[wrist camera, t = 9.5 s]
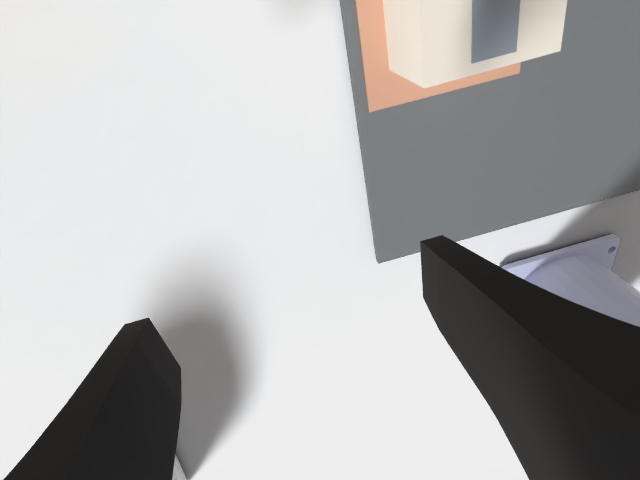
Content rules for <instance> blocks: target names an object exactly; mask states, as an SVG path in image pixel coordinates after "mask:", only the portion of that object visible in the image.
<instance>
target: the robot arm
mask: <svg viewBox="0 0 640 480" xmlns="http://www.w3.org/2000/svg"><path fill="white" fill-rule="evenodd" d="M619 244H620V237H619V236H617V235H615V234H610V235H607V236H603V237H600V238H596V239H593V240H589V241H586V242H582V243H579V244H575V245H572V246H568V247H565V248H561V249H558V250H555V251H551V252H548V253H544V254H541V255H537V256H534V257H530V258H527V259H523V260H520V261H516V262H513V263H509V264H506V265H504V266H502V267H499V266H497V265H495V264H493V263H492V262H490V261H488V260H486V259H484V258H483V257H481V256H479V255H477V254H475V253H474V252H472V251H470V250H468V249H467V248H465V247H463V246H461V245H459V244H458V243H456V242H454V241H452V240H451V239H449V238H447V237H445V236H443V235H440V236H437V237H433V238H430V239H426V240H423V241H420V247H421V265H422V283H423V298H424V300H425V302H426V304H427V306H428V308H429V310H430V312H431V315H432V317H433V318H434V320H435V322H436V324H437V326H438V328H439V330H440V332H441V333H442V335H443V336H444V338H445V339H446V341H447V342H448V344H449V346H450V347H451V349H452V350H453V352H454V353H455V355H456V356H457V358H458V359H459V361H460V362H461V364H462V365H463V367H464V368H465V370H466V371H467V373H468V374H469V376H470V377H471V379H472V380H473V382H474V383H475V385H476V386H477V388H478V389H479V391H480V392H481V394H482V395H483V397H484V398H485V400H486V401H487V403H488V404H489V406H490V408H491V409H492V411H493V413H494V414H495V416H496V418H497V419H498V421H499V423H500V425H501V427H502V429H503V431H504V432H505V434H506V436H507V438H508V440H509V442H510V444H511V445H512V447H513V449H514V451H515V453H516V455H517V457H518V459H519V461H520V462H521V464H522V466H523V468H524V470H525V472H526V474H527V476H528V478H529V480H640V292H639V291H638V290H637V289H635V288H634V287H633V286H631V285H630V284H629V283H627V282H626V281H624V280H623V279H622V278H620V277H619V276H618V275H616V274H615V273H614V272H612V271H611V270H612V267H613V264H614V260H615V257H616V254H617V251H618V247H619ZM180 412H181V367H180V366H179V364H178V363H177V361H176V360H175V358H174V356H173V355H172V353H171V352H170V350H169V349H168V347H167V345H166V344H165V342H164V341H163V339H162V338H161V336H160V335H159V333H158V331H157V330H156V328H155V327H154V325H153V324H152V322H151V320H150V319H149V318H146V319H142V320H139V321H135V322H132V323H128V324H125V325H124V326H123V327H122V329H121V330H120V331H119V332H118V334H117V335H116V336H115V338H114V339H113V341H112V342H111V343H110V345H109V346H108V347H107V349H106V350H105V352H104V353H103V354H102V356H101V357H100V358H99V360H98V361H97V363H96V364H95V365H94V367H93V368H92V370H91V371H90V372H89V374H88V375H87V376H86V378H85V379H84V380H83V382H82V383H81V384H80V386H79V387H78V389H77V390H76V391H75V393H74V394H73V395H72V397H71V398H70V399H69V401H68V402H67V403H66V405H65V406H64V407H63V408H62V410H61V411H60V412H59V413H58V415H57V416H56V417H55V418H54V420H53V421H52V422H51V423H50V425H49V426H48V427H47V429H46V430H45V431H44V432H43V434H42V435H41V436H40V437H39V439H38V440H37V441H36V442H35V444H34V445H33V446H32V447H31V449H30V450H29V451H28V452H27V453H26V454H25V456H24V457H23V458H22V459H21V460H20V462H19V463H18V464H17V465H16V466H15V467H14V468H13V470H12V471H11V472H10V473H9V474H8V475H7V476H6V477H5V479H4V480H172V477H173V469H174V461H175V453H176V445H177V438H178V429H179V421H180Z"/></svg>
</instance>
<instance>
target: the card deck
mask: <svg viewBox="0 0 640 480" xmlns="http://www.w3.org/2000/svg"><path fill="white" fill-rule="evenodd" d="M566 7H567V0H383V10H384V20H385V31H386V41H387V51H388V61H389V70H390V71H392V72H394V73H396V74H398V75H400V76H402V77H404V78H405V79H407V80H409V81H411V82H413V83H415V84H417V85H418V86H420V87H422V88H428V87H431V86H435V85H439V84H442V83H446V82H450V81H453V80H457V79H461V78H464V77H468V76H472V75H475V74H479V73H482V72H486V71H490V70H493V69H497V68H501V67H504V66H508V65H512V64H515V63H519V62H523V61H526V60H530V59H534V58H537V57H541V56H544V55H548V54H552V53H555V52H559V51H561V43H562V36H563V29H564V21H565V14H566Z"/></svg>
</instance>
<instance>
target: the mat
mask: <svg viewBox="0 0 640 480" xmlns="http://www.w3.org/2000/svg"><path fill="white" fill-rule="evenodd" d="M340 6H341V13H342V20H343V27H344V35H345V42H346V49H347V56H348V63H349V70H350V77H351V84H352V91H353V98H354V105H355V112H356V120H357V127H358V134H359V141H360V148H361V155H362V162H363V169H364V176H365V183H366V190H367V197H368V205H369V212H370V219H371V226H372V233H373V240H374V247H375V254H376V260H377V262H378V264H379V263H382V262H386V261H389V260H393V259H396V258H400V257H404V256H407V255H411V254H414V253H418V252H421V247H420V241H423V240H426V239H430V238H433V237H437V236H440V235H443V236H445V237H447V238H449V239H451V240H452V241H454V242H457V241H460V240H464V239H467V238H471V237H474V236H478V235H481V234H485V233H488V232H492V231H495V230H499V229H502V228H506V227H510V226H513V225H517V224H520V223H524V222H527V221H531V220H534V219H538V218H541V217H545V216H548V215H552V214H555V213H559V212H563V211H566V210H570V209H573V208H577V207H580V206H584V205H587V204H591V203H594V202H598V201H601V200H605V199H608V198H612V197H616V196H619V195H623V194H626V193H630V192H633V191H637V190H640V0H567V7H566V14H565V21H564V29H563V36H562V43H561V51H559V52H555V53H552V54H548V55H544V56H541V57H537V58H534V59H530V60H526V61H523V62H519V63H515V64H512V65H508V66H504V67H501V68H497V69H493V70H490V71H486V72H482V73H479V74H475V75H472V76H468V77H464V78H461V79H457V80H453V81H450V82H446V83H442V84H439V85H435V86H431V87H428V88H422V87H420V86H418V85H417V84H415V83H413V82H411V81H409V80H407V79H405V78H404V77H402V76H400V75H398V74H396V73H394V72H392V71H390V70H389V61H388V51H387V41H386V31H385V20H384V10H383V0H340Z"/></svg>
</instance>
